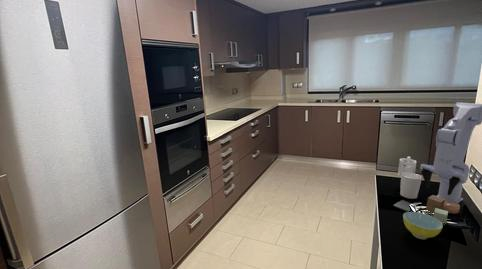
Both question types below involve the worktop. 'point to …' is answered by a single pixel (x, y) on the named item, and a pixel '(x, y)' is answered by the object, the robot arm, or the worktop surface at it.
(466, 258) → the worktop surface
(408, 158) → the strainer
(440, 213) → the sage cube
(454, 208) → the brown rounded disc
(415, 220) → the bowl
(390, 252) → the worktop surface
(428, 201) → the walnut block
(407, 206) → the plate
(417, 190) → the white cup
